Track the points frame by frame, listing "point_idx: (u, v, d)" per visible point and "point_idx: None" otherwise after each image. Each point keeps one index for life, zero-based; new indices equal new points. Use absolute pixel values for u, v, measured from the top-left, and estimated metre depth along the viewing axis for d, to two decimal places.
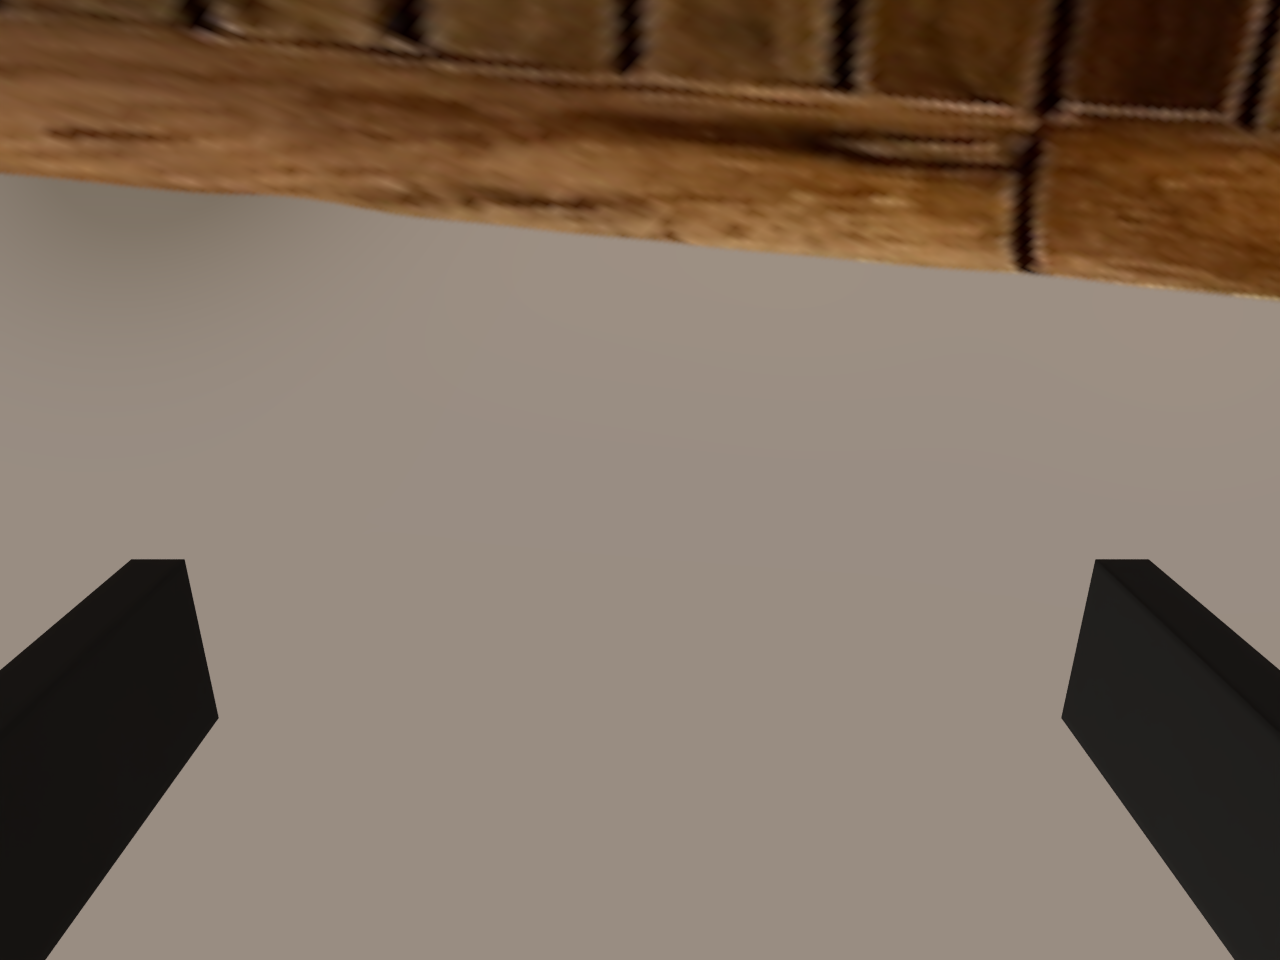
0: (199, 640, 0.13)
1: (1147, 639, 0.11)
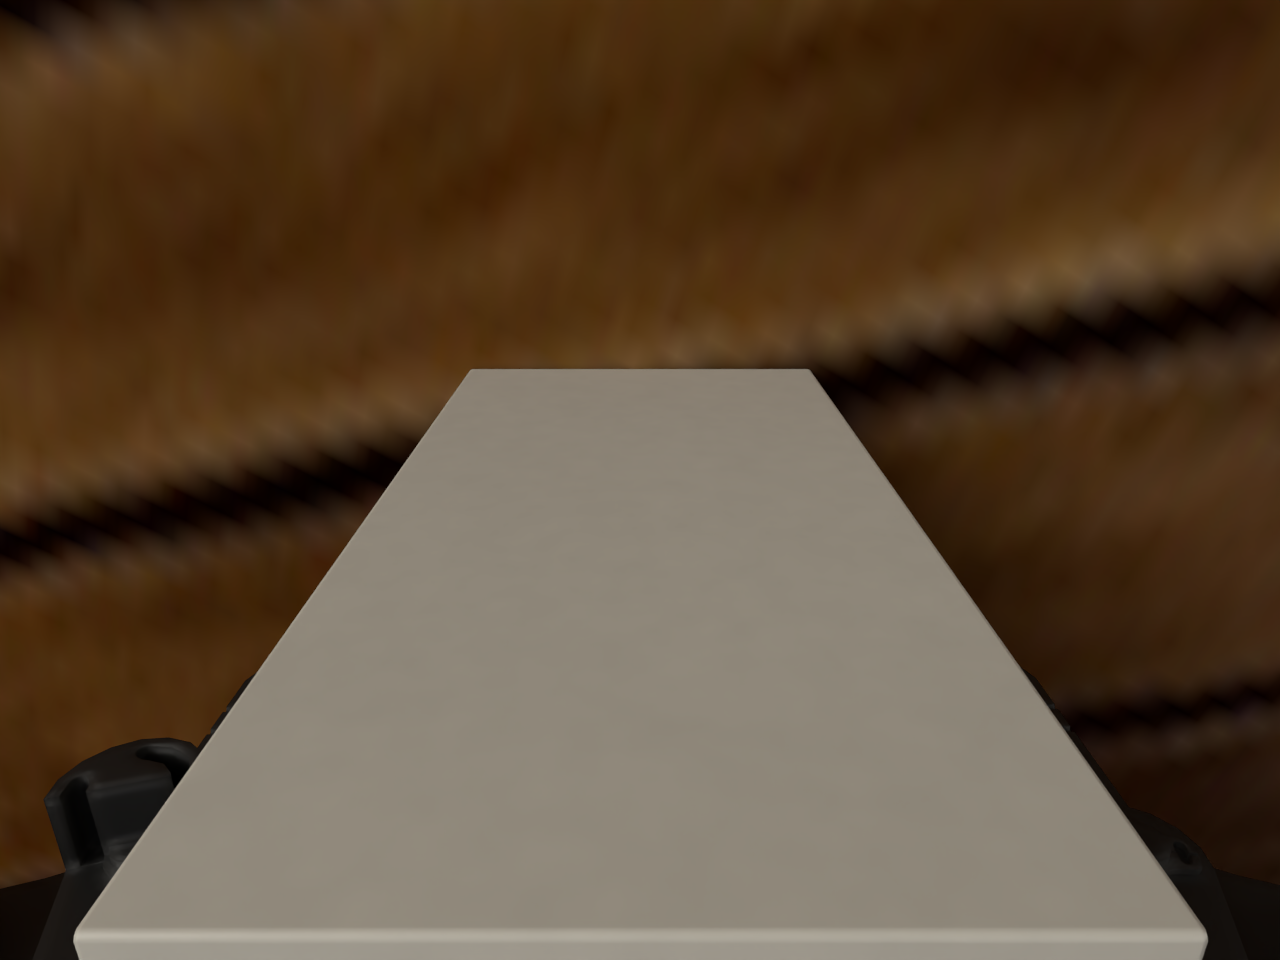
0: None
1: None
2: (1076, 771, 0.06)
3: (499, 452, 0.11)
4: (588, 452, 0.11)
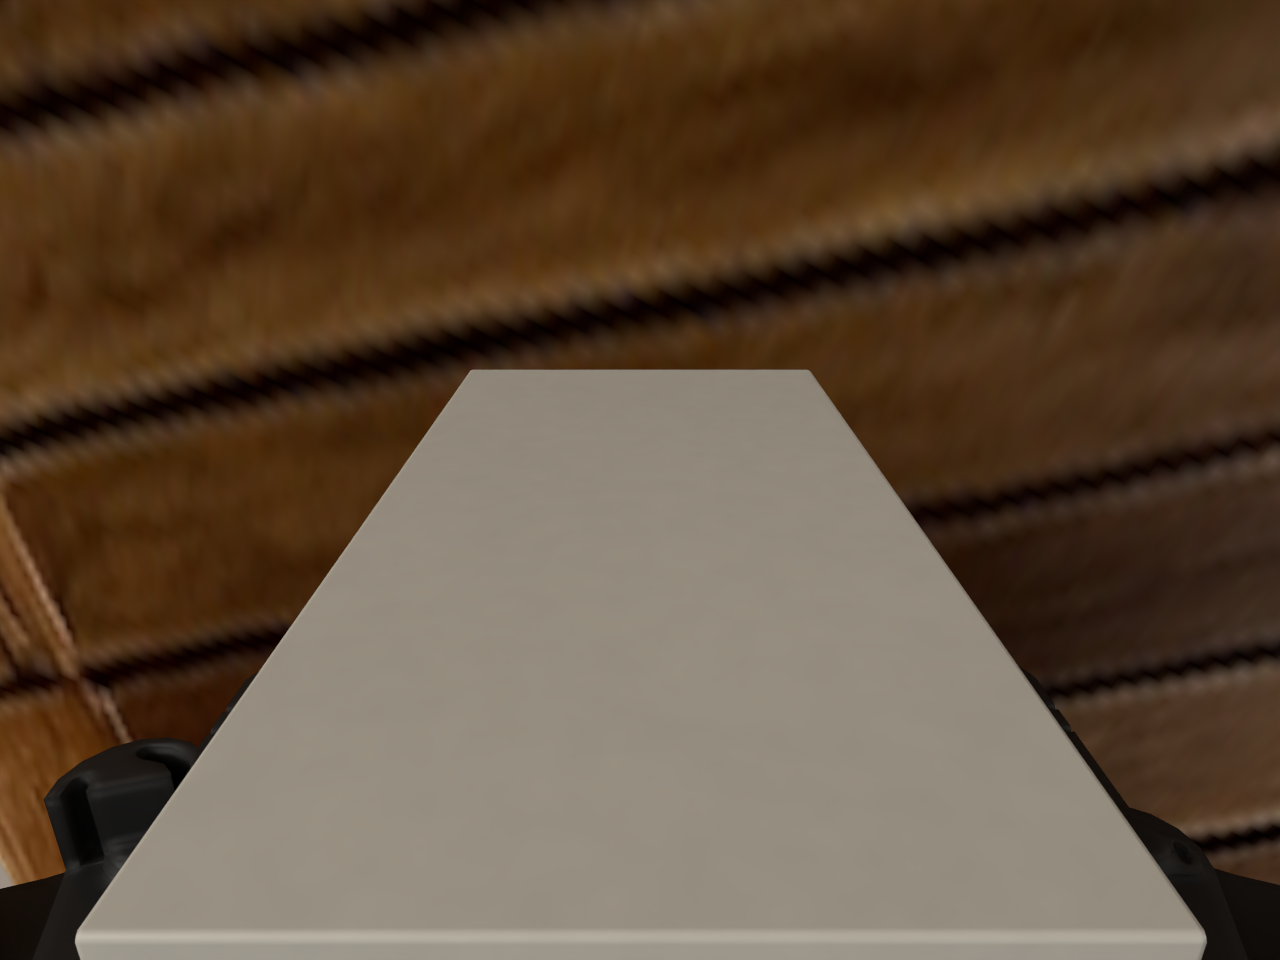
0: None
1: None
2: (1075, 772, 0.06)
3: (499, 452, 0.11)
4: (588, 453, 0.11)
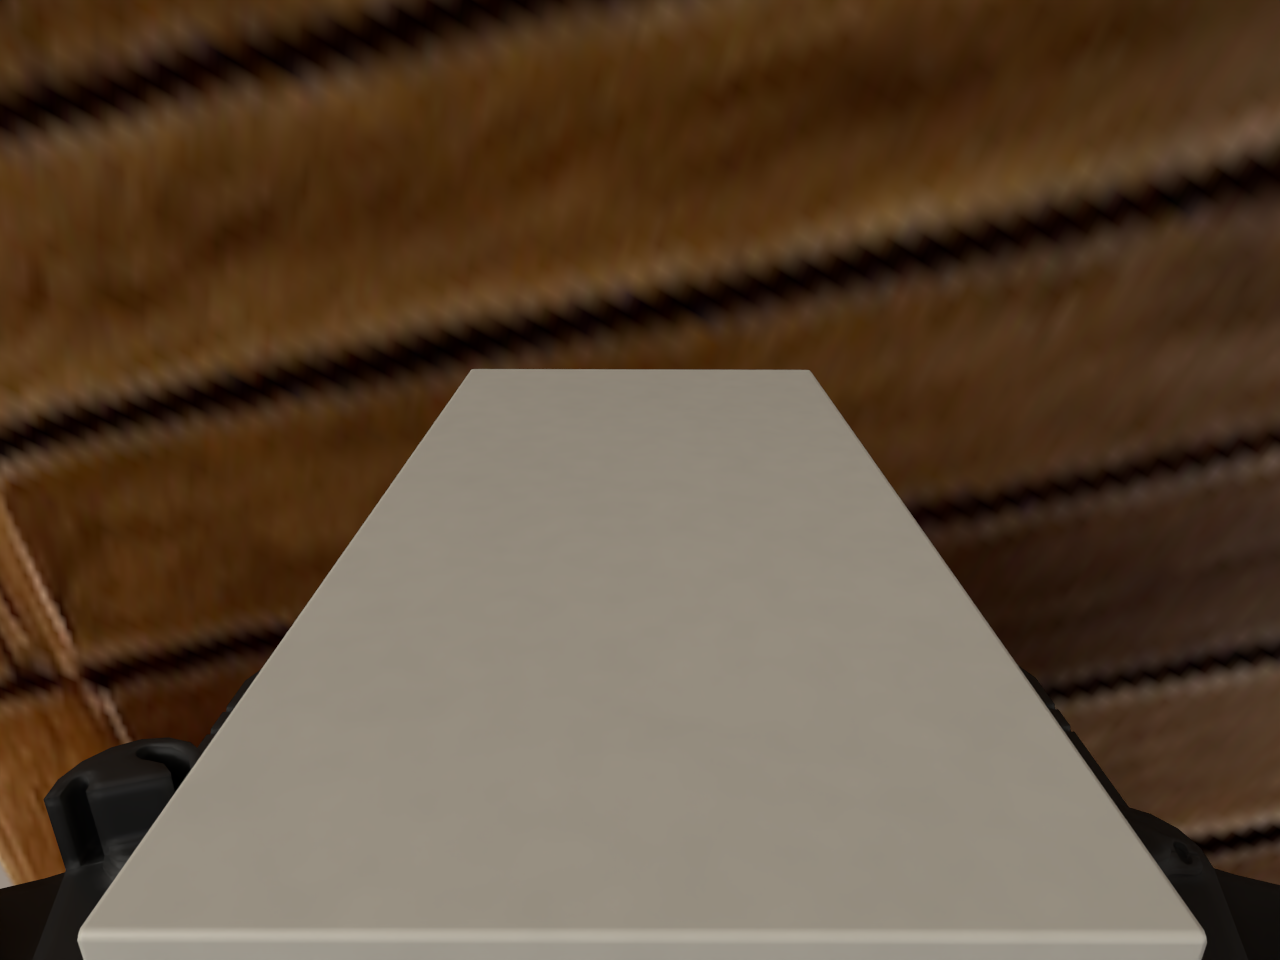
0: None
1: None
2: (1076, 772, 0.06)
3: (500, 452, 0.11)
4: (589, 453, 0.11)
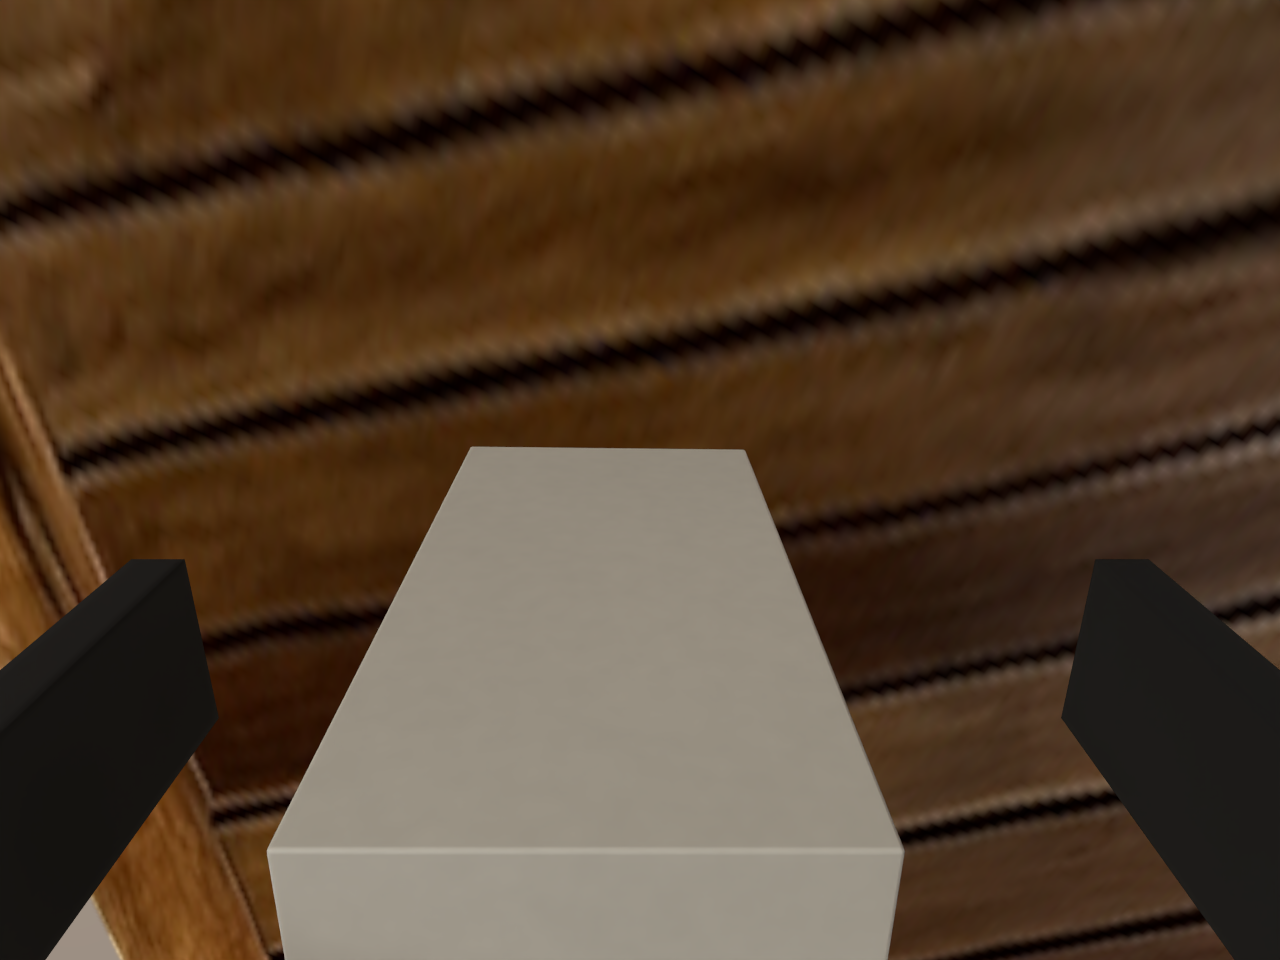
0: (199, 640, 0.13)
1: (1147, 639, 0.11)
2: (857, 762, 0.09)
3: (496, 527, 0.15)
4: (564, 528, 0.15)
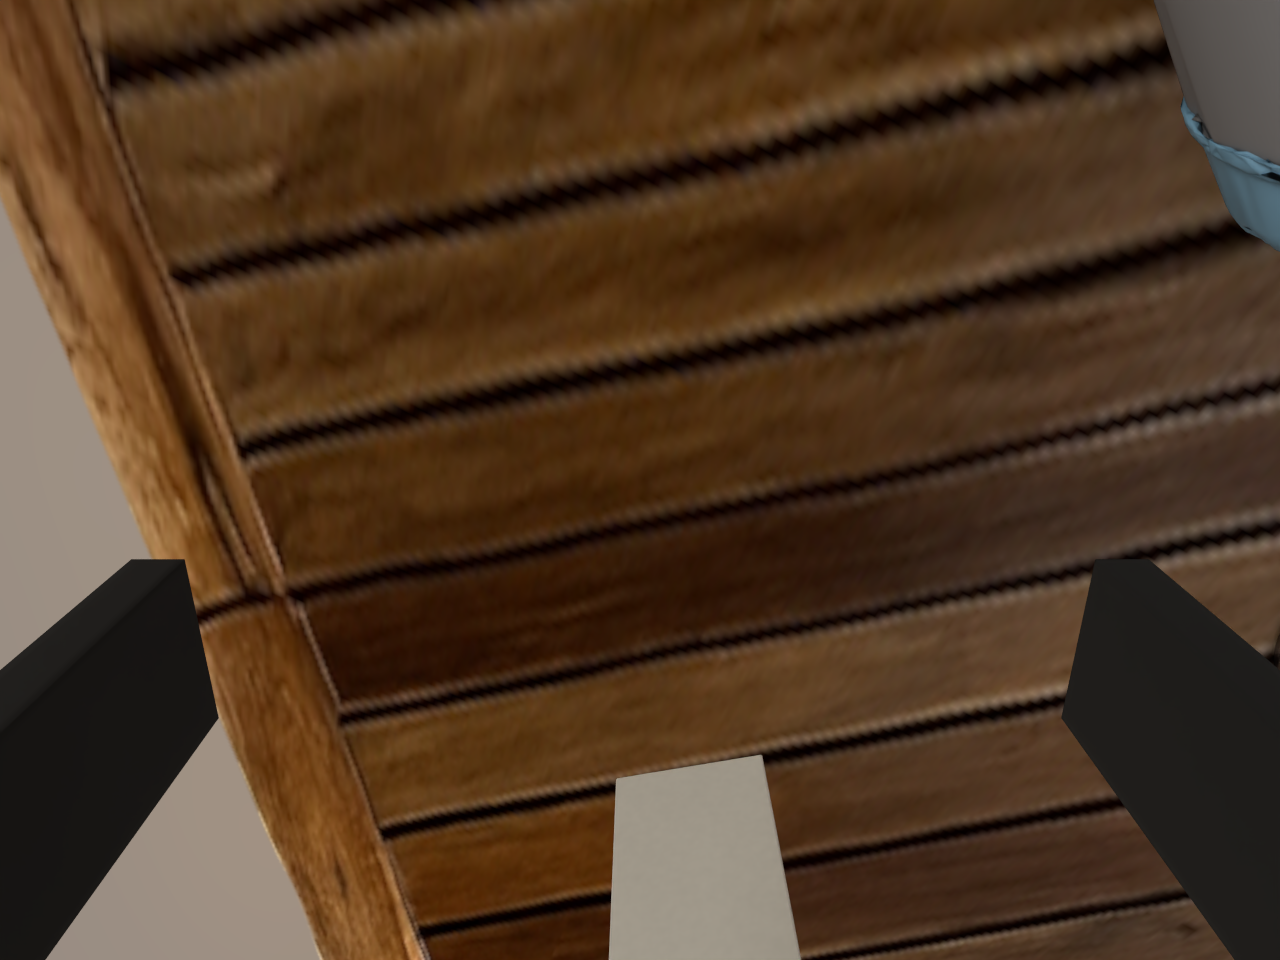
0: (199, 640, 0.13)
1: (1145, 639, 0.11)
2: None
3: (644, 855, 0.31)
4: (675, 850, 0.31)
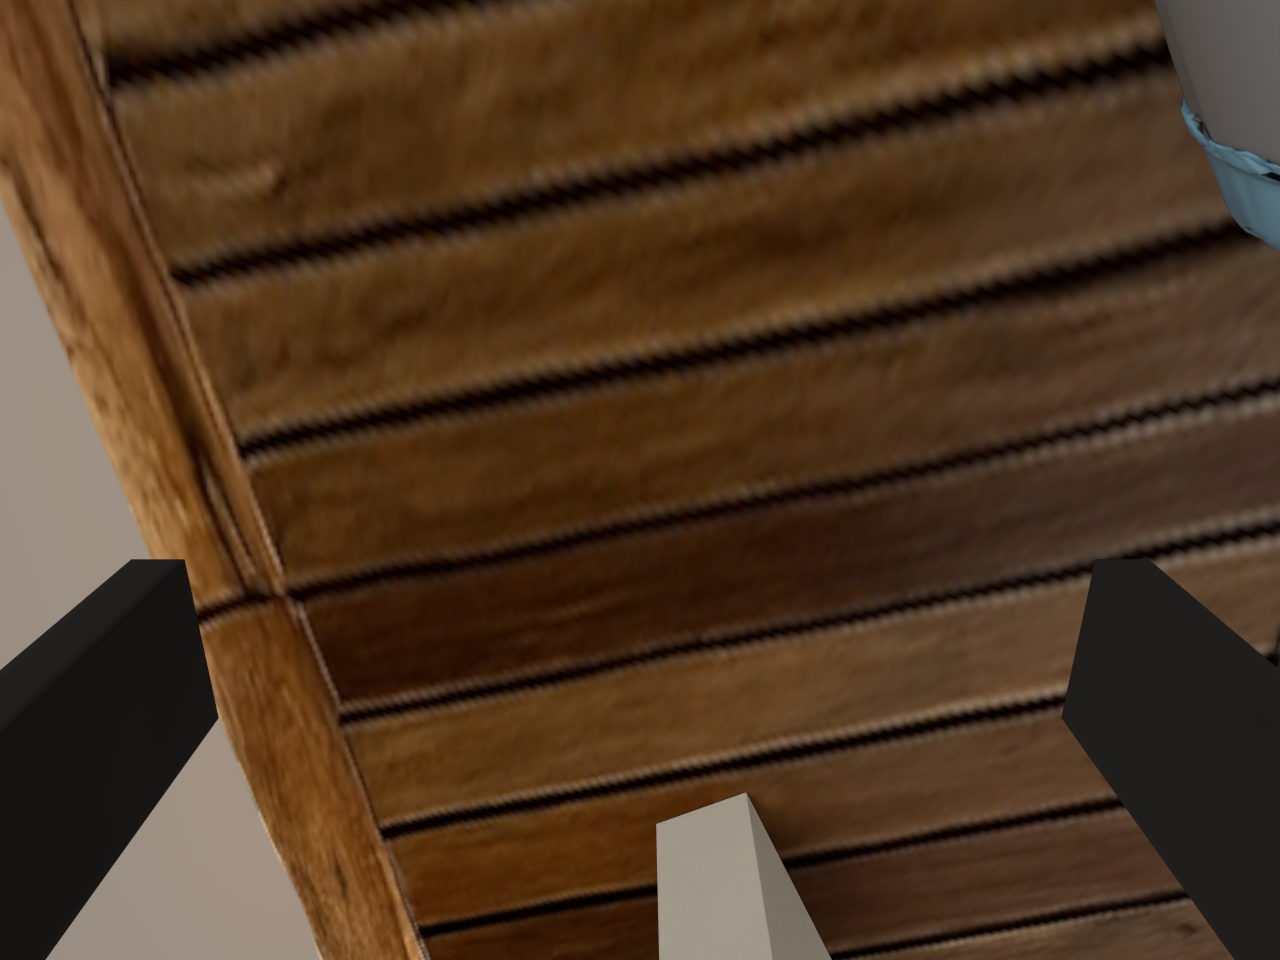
0: (199, 640, 0.13)
1: (1145, 639, 0.11)
2: (767, 940, 0.43)
3: (675, 872, 0.49)
4: (694, 866, 0.49)
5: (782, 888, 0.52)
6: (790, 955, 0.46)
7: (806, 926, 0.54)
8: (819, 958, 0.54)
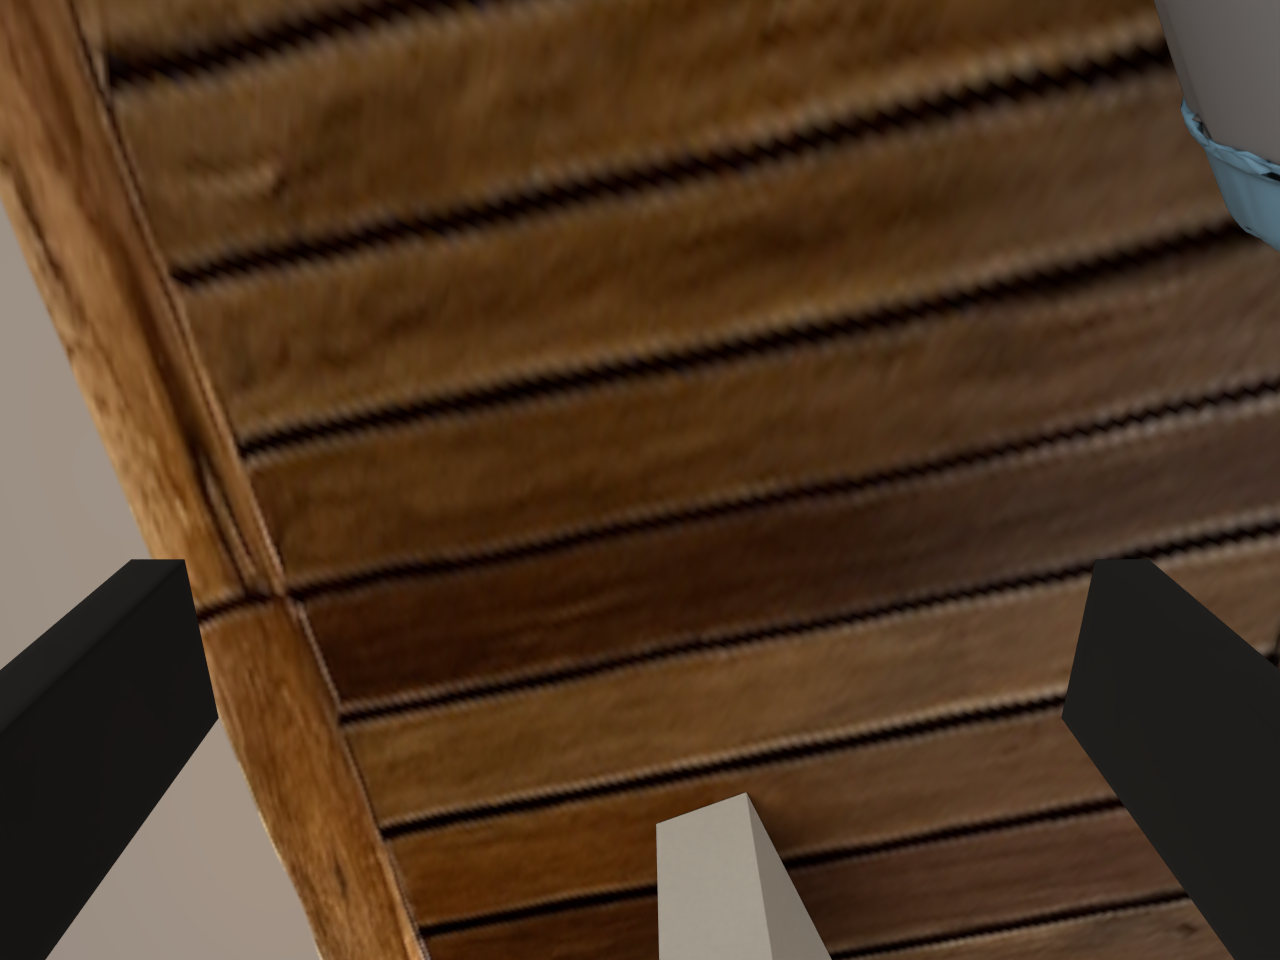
0: (199, 640, 0.13)
1: (1145, 639, 0.11)
2: (767, 940, 0.43)
3: (675, 872, 0.49)
4: (694, 866, 0.49)
5: (782, 888, 0.52)
6: (790, 955, 0.46)
7: (806, 926, 0.54)
8: (819, 958, 0.54)
